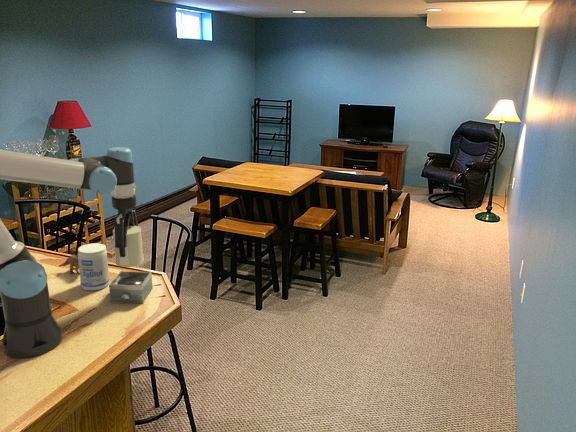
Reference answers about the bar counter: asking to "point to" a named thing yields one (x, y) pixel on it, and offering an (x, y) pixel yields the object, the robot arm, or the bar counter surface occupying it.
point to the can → (131, 247)
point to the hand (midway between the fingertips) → (129, 259)
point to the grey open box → (130, 287)
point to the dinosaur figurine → (72, 263)
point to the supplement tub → (93, 266)
